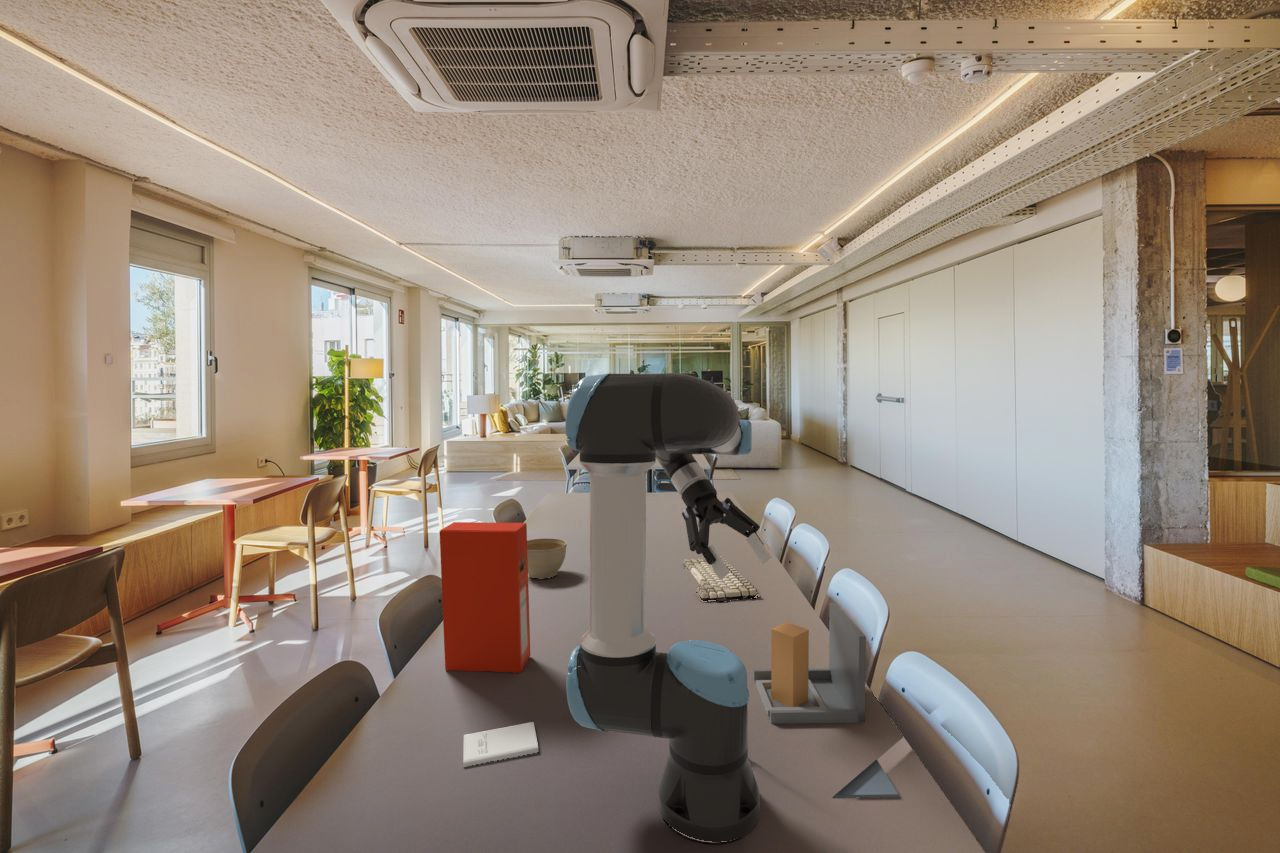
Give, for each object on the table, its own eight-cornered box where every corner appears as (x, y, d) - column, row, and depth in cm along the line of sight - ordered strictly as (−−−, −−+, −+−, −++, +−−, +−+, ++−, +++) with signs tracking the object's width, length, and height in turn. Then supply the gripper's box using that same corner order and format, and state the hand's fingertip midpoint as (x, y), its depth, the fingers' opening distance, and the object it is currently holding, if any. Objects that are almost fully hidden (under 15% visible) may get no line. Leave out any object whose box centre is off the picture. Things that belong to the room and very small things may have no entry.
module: (793, 709, 108) (793, 637, 107) (771, 698, 111) (771, 628, 111) (808, 699, 111) (808, 629, 110) (786, 689, 115) (786, 621, 114)
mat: (833, 798, 86) (833, 795, 86) (813, 755, 96) (813, 753, 96) (898, 797, 86) (898, 794, 86) (872, 755, 96) (872, 752, 96)
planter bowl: (577, 574, 192) (576, 543, 192) (538, 587, 181) (537, 553, 180) (548, 565, 204) (547, 535, 203) (509, 576, 192) (508, 544, 191)
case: (771, 731, 103) (771, 637, 102) (753, 685, 119) (753, 604, 118) (869, 730, 103) (870, 636, 102) (838, 684, 119) (839, 602, 118)
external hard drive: (538, 756, 98) (463, 770, 95) (533, 729, 106) (463, 741, 102) (538, 747, 98) (463, 761, 95) (533, 720, 106) (463, 733, 102)
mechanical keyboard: (673, 566, 202) (673, 556, 202) (725, 563, 205) (725, 554, 205) (702, 606, 165) (702, 595, 165) (764, 602, 168) (764, 591, 168)
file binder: (520, 674, 125) (516, 531, 123) (444, 671, 127) (439, 530, 125) (530, 656, 134) (526, 522, 131) (459, 654, 135) (454, 521, 133)
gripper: (722, 490, 139) (773, 564, 129) (645, 505, 123) (695, 592, 113) (739, 471, 134) (793, 546, 124) (661, 484, 118) (715, 572, 108)
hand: (746, 568), depth 118 cm, fingers open, 13 cm apart
